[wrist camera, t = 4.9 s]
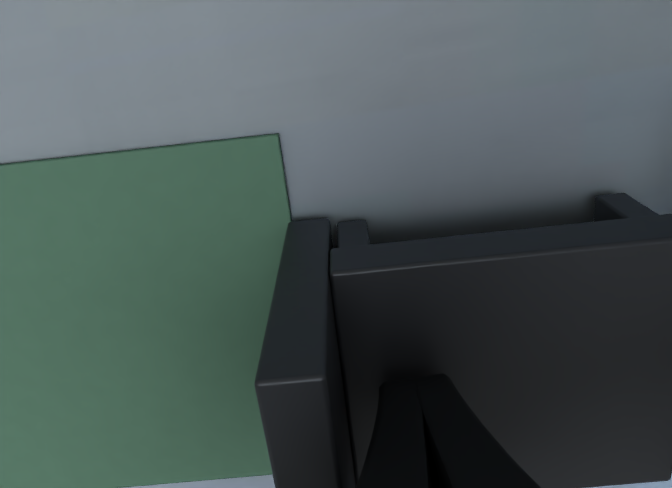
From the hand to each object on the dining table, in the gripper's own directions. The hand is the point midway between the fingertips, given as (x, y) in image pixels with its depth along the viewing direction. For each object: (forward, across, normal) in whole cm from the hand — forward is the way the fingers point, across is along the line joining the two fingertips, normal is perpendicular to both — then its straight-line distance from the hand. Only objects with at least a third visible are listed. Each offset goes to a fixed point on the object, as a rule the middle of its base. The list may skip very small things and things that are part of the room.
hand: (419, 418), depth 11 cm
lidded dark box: (+4, -2, 0) cm, 4 cm away
